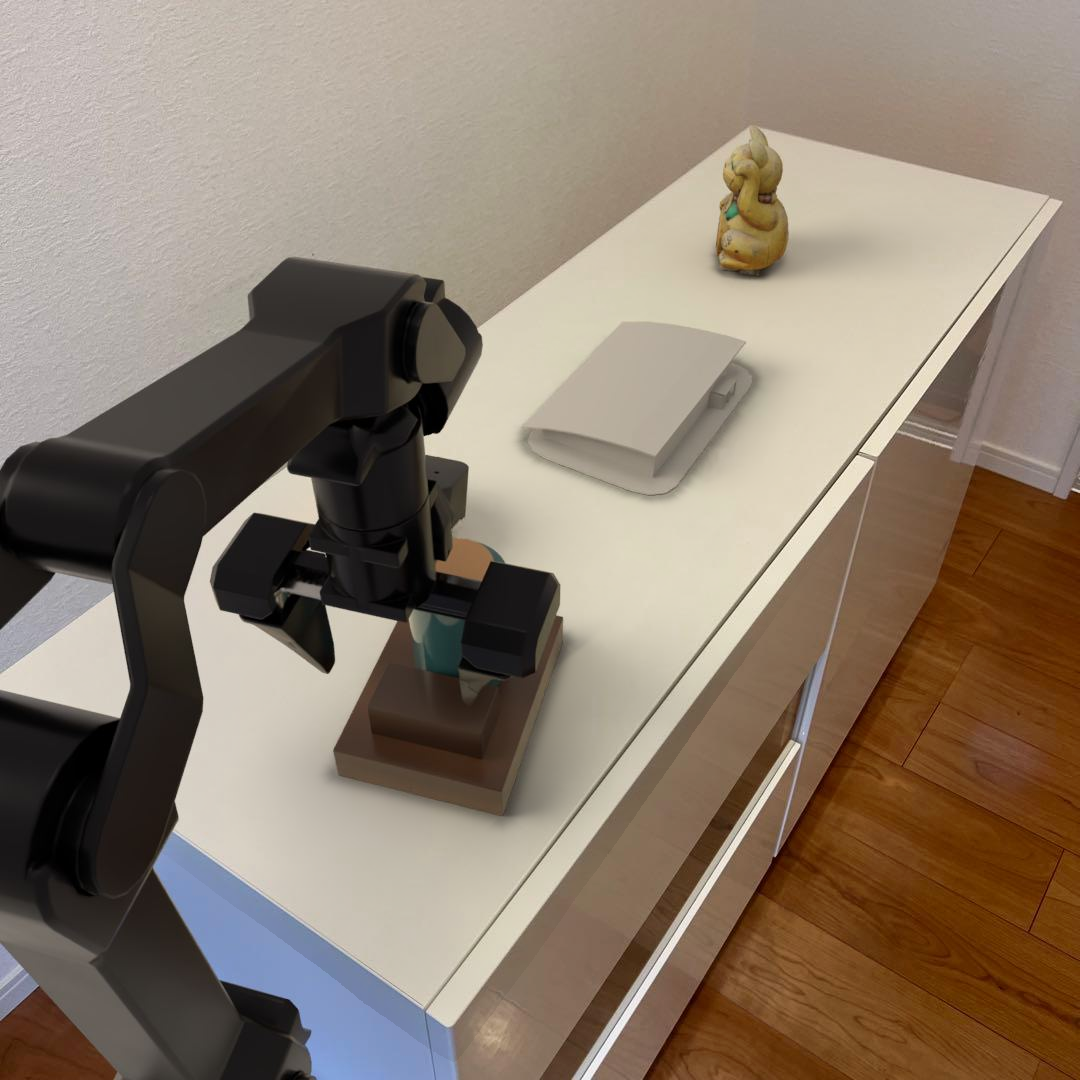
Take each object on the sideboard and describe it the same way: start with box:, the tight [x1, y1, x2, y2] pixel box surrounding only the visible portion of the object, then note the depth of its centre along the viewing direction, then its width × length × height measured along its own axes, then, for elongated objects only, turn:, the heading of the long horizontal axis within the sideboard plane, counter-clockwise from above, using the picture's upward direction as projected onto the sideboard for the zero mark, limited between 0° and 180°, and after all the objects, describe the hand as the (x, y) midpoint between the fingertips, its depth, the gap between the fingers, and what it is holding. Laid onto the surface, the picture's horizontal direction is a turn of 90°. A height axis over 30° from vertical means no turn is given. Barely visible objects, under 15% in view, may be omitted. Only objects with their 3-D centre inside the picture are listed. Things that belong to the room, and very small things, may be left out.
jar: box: [409, 537, 506, 686], centre depth 75 cm, size 11×7×11 cm
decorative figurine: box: [715, 124, 790, 277], centre depth 120 cm, size 10×8×15 cm
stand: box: [332, 614, 564, 817], centre depth 77 cm, size 16×12×6 cm
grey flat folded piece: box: [521, 321, 753, 496], centre depth 104 cm, size 15×23×4 cm, turn 150°
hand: (399, 684), depth 65 cm, fingers open, 9 cm apart
